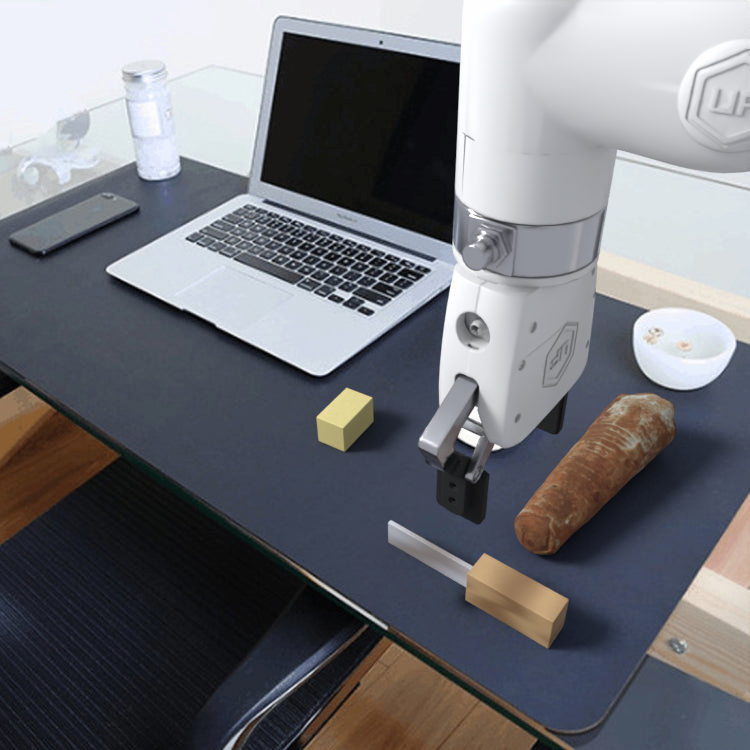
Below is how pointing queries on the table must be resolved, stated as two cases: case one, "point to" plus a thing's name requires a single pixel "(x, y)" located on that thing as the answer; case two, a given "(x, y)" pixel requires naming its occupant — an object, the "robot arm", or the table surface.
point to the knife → (492, 587)
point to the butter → (345, 419)
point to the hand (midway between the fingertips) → (501, 465)
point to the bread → (596, 469)
